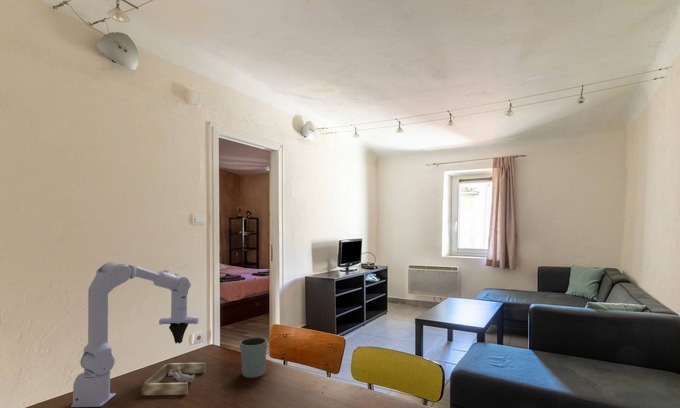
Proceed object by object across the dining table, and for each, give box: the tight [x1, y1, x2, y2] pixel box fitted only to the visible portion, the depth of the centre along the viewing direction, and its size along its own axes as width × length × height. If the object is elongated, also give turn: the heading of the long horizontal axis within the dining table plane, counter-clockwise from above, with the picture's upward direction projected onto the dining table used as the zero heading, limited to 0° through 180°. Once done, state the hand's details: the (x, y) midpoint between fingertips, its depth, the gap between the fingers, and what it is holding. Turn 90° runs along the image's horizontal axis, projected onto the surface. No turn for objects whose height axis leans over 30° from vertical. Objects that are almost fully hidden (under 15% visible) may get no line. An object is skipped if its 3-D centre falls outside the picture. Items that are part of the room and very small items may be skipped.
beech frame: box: [140, 362, 207, 396], centre depth 129 cm, size 15×18×4 cm
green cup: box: [239, 336, 268, 379], centre depth 137 cm, size 10×10×12 cm
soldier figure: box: [167, 367, 196, 383], centre depth 130 cm, size 8×5×12 cm
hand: (178, 342), depth 141 cm, fingers closed
